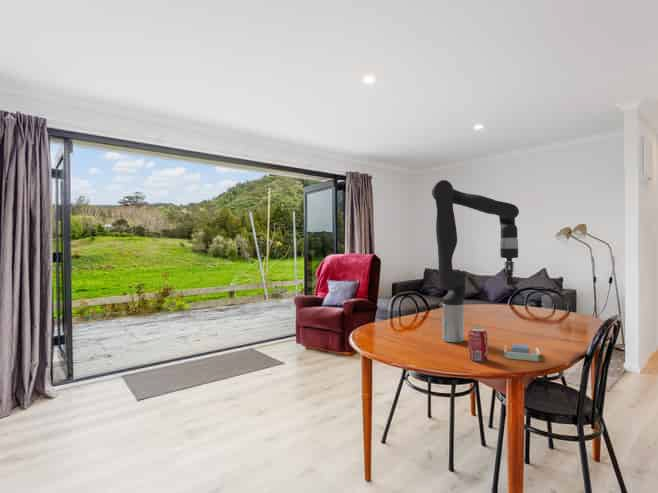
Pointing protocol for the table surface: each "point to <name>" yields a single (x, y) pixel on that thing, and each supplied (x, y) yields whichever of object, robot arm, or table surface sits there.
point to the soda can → (478, 344)
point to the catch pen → (522, 355)
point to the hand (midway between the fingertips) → (509, 284)
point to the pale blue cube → (520, 348)
